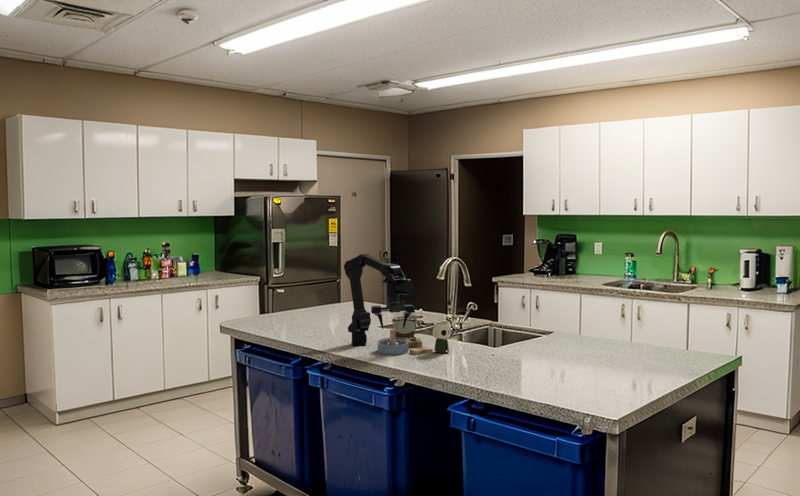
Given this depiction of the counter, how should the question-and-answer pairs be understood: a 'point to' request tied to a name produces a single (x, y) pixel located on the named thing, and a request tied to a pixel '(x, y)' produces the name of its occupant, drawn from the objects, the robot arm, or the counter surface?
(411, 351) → the tapered wooden plank
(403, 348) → the blue octagonal bowl
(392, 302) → the robot arm
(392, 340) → the bar
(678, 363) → the counter surface
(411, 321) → the food container
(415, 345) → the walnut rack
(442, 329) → the character mug
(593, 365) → the counter surface
